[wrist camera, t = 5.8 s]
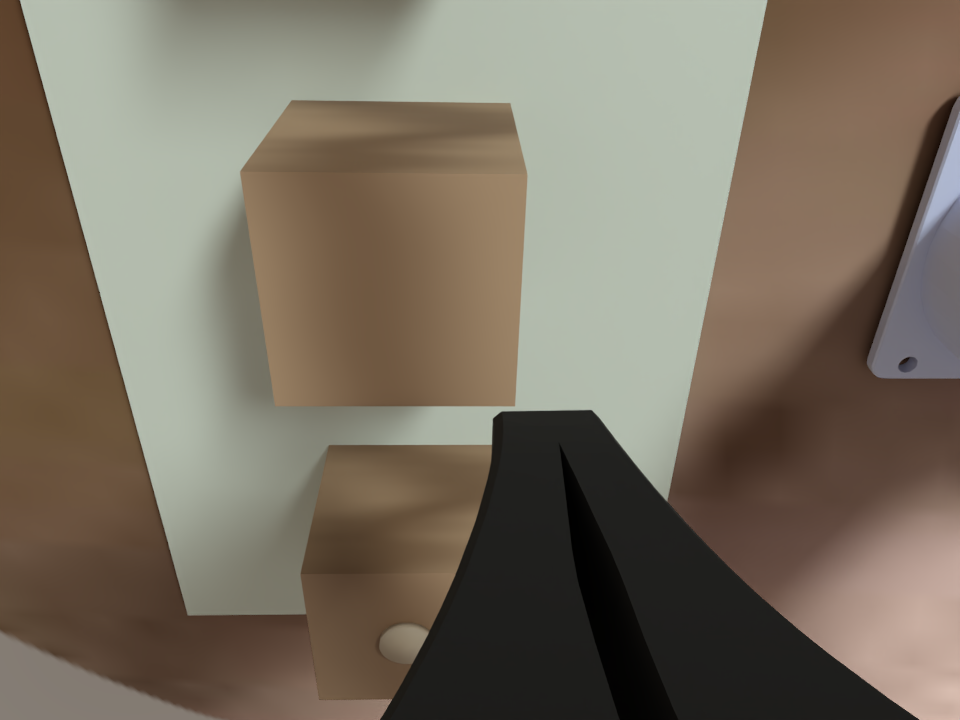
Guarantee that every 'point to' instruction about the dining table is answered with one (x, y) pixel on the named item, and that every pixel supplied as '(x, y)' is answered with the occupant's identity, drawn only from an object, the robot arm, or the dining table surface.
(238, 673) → the dining table surface
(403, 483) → the one dot block
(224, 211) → the sage mat
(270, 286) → the plain block
